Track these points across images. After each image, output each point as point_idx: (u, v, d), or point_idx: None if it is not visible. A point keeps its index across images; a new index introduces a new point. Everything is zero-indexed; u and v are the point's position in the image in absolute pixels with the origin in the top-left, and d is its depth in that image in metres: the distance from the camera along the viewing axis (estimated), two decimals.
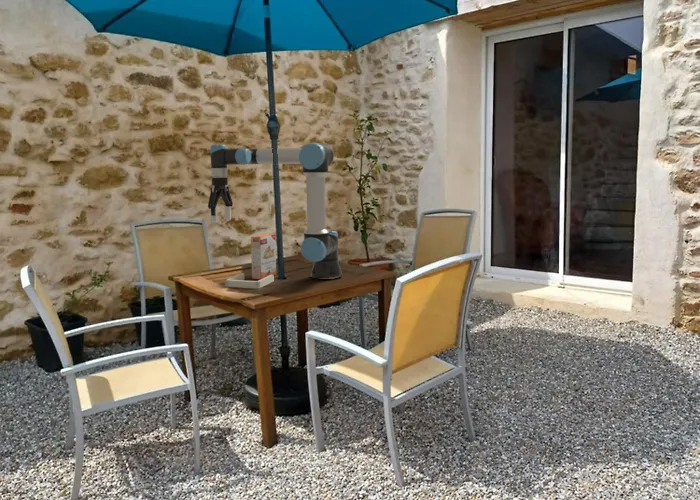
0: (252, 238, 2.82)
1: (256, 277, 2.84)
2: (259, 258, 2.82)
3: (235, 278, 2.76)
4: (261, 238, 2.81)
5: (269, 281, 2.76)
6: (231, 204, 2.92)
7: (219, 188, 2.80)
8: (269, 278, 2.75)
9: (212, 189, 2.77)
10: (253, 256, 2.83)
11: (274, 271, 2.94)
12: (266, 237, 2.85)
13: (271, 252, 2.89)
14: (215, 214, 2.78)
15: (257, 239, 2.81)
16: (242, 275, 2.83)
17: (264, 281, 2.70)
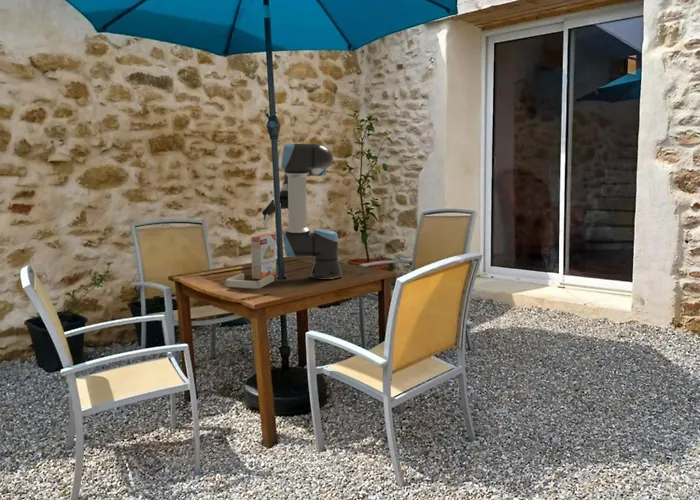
0: (252, 238, 2.82)
1: (256, 277, 2.84)
2: (259, 258, 2.82)
3: (235, 278, 2.76)
4: (261, 238, 2.81)
5: (269, 281, 2.76)
6: None
7: None
8: (269, 278, 2.75)
9: None
10: (253, 256, 2.83)
11: (274, 271, 2.94)
12: (266, 237, 2.85)
13: (271, 252, 2.89)
14: (265, 218, 3.06)
15: (257, 239, 2.81)
16: (242, 275, 2.83)
17: (264, 281, 2.70)
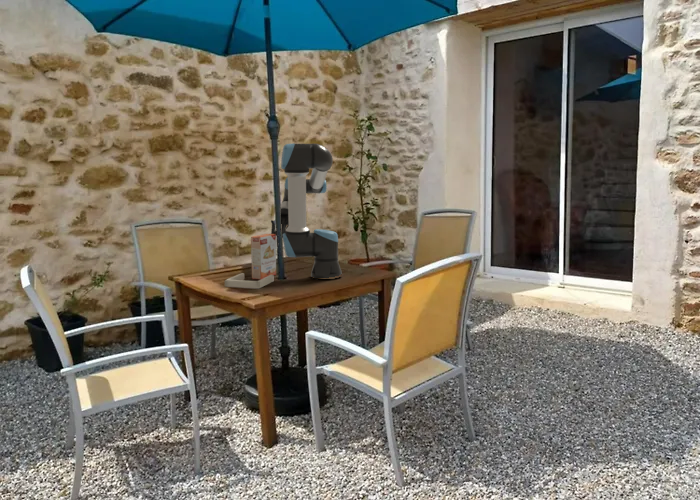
0: (252, 238, 2.82)
1: (256, 277, 2.84)
2: (259, 258, 2.82)
3: (235, 278, 2.76)
4: (261, 238, 2.81)
5: (269, 281, 2.76)
6: None
7: None
8: (269, 278, 2.75)
9: None
10: (253, 256, 2.83)
11: (274, 271, 2.94)
12: (266, 237, 2.85)
13: (271, 252, 2.89)
14: None
15: (257, 239, 2.81)
16: (242, 275, 2.83)
17: (264, 281, 2.70)
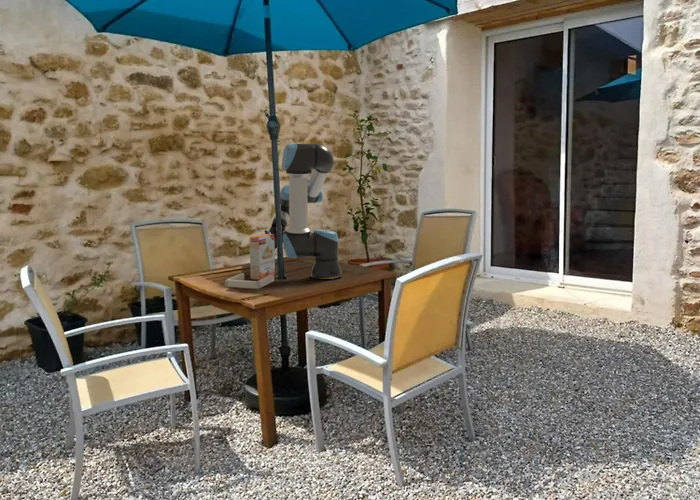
0: (251, 238, 2.81)
1: (255, 277, 2.83)
2: (258, 258, 2.81)
3: (235, 278, 2.76)
4: (260, 238, 2.80)
5: (269, 281, 2.76)
6: (274, 245, 2.99)
7: (271, 227, 3.07)
8: (269, 278, 2.75)
9: (265, 233, 3.07)
10: (252, 256, 2.82)
11: (273, 271, 2.93)
12: (265, 237, 2.84)
13: (270, 252, 2.88)
14: None
15: (256, 239, 2.80)
16: (242, 275, 2.83)
17: (264, 281, 2.70)
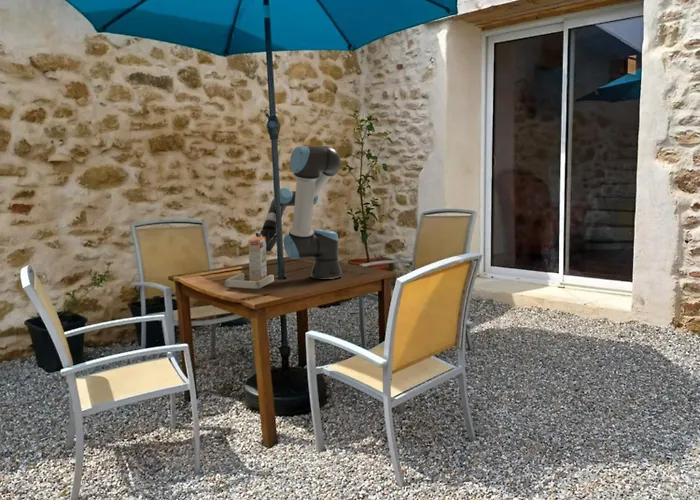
0: (250, 242, 2.70)
1: None
2: (259, 262, 2.71)
3: (235, 278, 2.76)
4: (260, 241, 2.70)
5: (269, 281, 2.76)
6: None
7: (263, 230, 2.96)
8: (269, 278, 2.75)
9: None
10: (251, 260, 2.71)
11: (266, 275, 2.84)
12: (262, 240, 2.74)
13: (265, 255, 2.80)
14: None
15: (256, 242, 2.69)
16: (242, 275, 2.83)
17: (264, 281, 2.70)
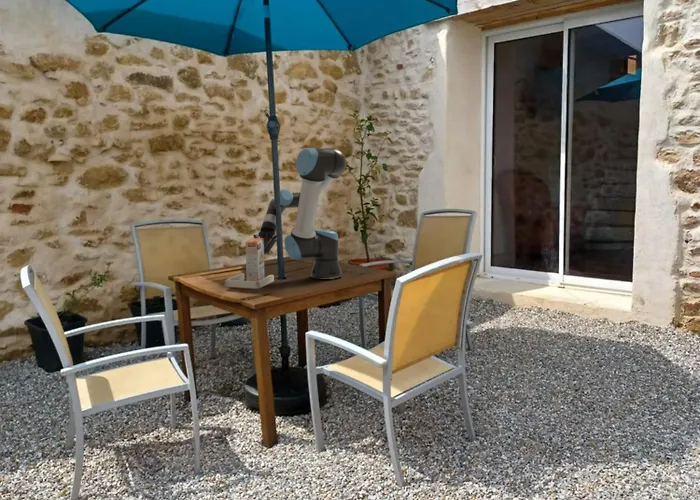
0: (247, 243, 2.65)
1: None
2: (256, 264, 2.66)
3: (235, 278, 2.76)
4: (257, 243, 2.65)
5: (269, 281, 2.76)
6: None
7: (261, 231, 2.92)
8: (269, 278, 2.75)
9: (254, 237, 2.92)
10: (248, 262, 2.66)
11: (263, 277, 2.79)
12: (260, 241, 2.70)
13: (262, 257, 2.75)
14: None
15: (253, 244, 2.65)
16: (242, 275, 2.83)
17: (264, 281, 2.70)
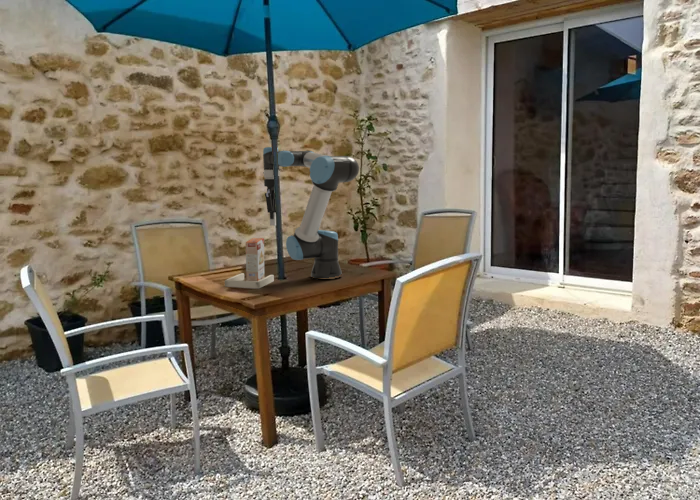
0: (247, 243, 2.65)
1: None
2: (256, 264, 2.66)
3: (235, 278, 2.76)
4: (257, 243, 2.65)
5: (269, 281, 2.76)
6: None
7: (271, 188, 2.92)
8: (269, 278, 2.75)
9: (266, 195, 2.89)
10: (248, 262, 2.66)
11: (263, 277, 2.79)
12: (260, 242, 2.70)
13: (262, 257, 2.75)
14: (274, 217, 2.96)
15: (253, 244, 2.65)
16: (242, 275, 2.83)
17: (264, 281, 2.70)
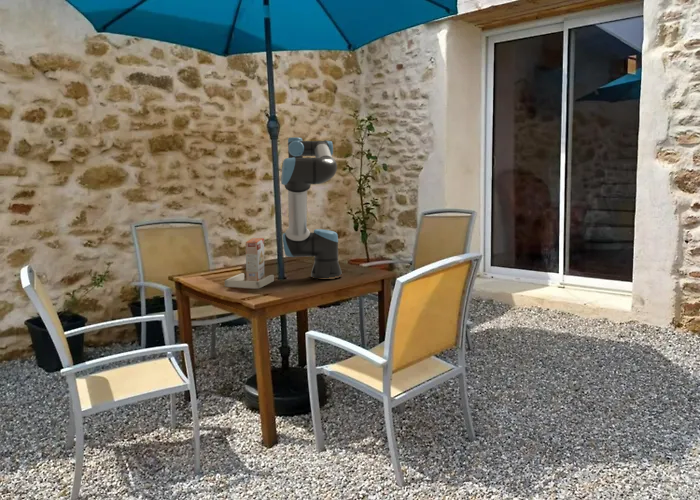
0: (247, 243, 2.65)
1: None
2: (256, 264, 2.66)
3: (235, 278, 2.76)
4: (257, 243, 2.65)
5: (269, 281, 2.76)
6: None
7: None
8: (269, 278, 2.75)
9: None
10: (248, 262, 2.66)
11: (263, 277, 2.79)
12: (260, 242, 2.70)
13: (262, 257, 2.75)
14: None
15: (253, 244, 2.65)
16: (242, 275, 2.83)
17: (264, 281, 2.70)
